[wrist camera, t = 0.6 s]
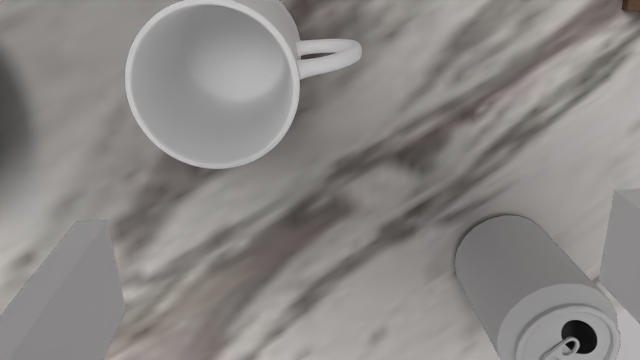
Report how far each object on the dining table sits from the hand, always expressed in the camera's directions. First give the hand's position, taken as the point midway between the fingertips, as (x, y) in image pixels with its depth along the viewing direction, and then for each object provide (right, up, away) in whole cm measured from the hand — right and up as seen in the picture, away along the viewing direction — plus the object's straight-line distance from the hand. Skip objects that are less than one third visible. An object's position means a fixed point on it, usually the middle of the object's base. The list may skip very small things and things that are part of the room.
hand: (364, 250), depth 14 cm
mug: (-5, +11, +22) cm, 25 cm away
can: (+13, -4, +29) cm, 32 cm away
